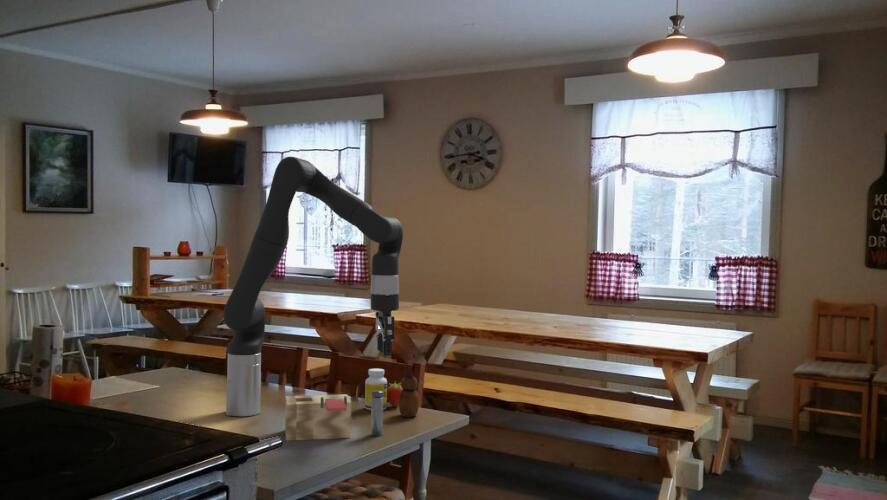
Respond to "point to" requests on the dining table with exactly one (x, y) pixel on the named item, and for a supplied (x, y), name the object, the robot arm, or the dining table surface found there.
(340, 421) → the hitch block
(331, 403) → the keeper tab
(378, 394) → the steel pin
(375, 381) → the pill bottle
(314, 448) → the dining table surface
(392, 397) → the fruit
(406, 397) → the wooden figurine
